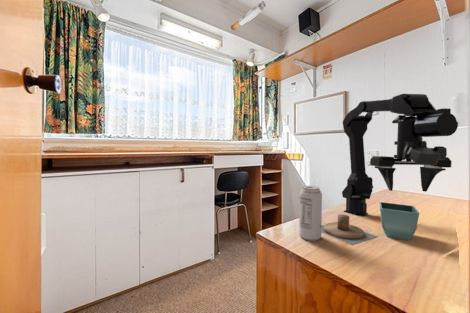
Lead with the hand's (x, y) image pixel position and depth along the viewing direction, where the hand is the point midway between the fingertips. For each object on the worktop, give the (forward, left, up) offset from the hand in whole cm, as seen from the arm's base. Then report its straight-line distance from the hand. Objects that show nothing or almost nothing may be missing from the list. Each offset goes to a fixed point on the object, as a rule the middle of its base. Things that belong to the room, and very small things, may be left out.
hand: (407, 190), depth 63 cm
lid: (-10, -14, -13) cm, 22 cm away
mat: (-10, -14, -14) cm, 22 cm away
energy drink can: (-12, -26, -14) cm, 32 cm away
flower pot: (-1, -2, -14) cm, 14 cm away
